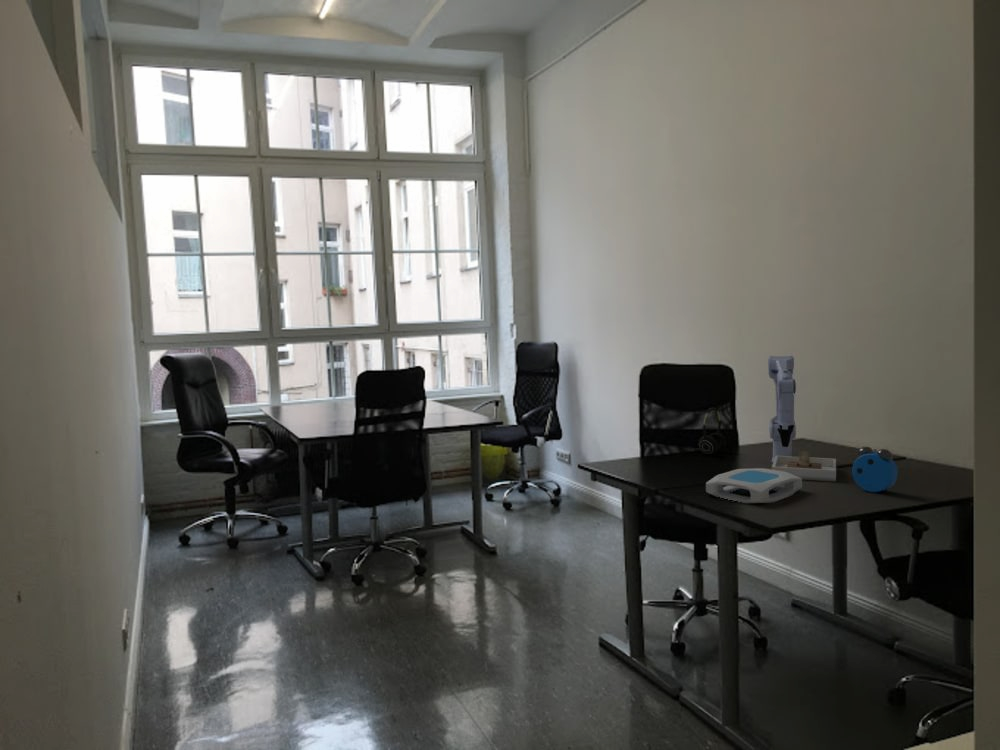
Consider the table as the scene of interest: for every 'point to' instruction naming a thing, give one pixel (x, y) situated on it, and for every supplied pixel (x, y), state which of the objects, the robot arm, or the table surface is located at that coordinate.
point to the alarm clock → (874, 470)
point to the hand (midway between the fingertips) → (785, 444)
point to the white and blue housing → (754, 485)
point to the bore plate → (811, 466)
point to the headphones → (712, 438)
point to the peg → (803, 459)
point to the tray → (807, 474)
